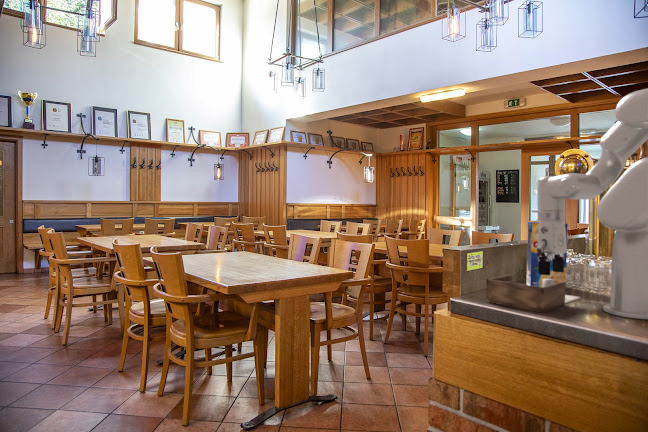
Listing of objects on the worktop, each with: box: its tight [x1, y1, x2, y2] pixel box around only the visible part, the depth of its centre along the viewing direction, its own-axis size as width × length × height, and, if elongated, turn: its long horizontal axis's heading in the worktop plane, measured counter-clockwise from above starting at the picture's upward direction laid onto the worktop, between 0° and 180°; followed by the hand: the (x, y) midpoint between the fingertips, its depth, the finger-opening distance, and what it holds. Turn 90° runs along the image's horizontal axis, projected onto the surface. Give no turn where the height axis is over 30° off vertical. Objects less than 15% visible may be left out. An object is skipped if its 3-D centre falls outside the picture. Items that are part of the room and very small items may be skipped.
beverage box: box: [525, 221, 568, 287], centre depth 156 cm, size 7×11×22 cm, turn 77°
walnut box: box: [485, 274, 567, 313], centre depth 129 cm, size 16×14×6 cm
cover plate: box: [542, 279, 581, 305], centre depth 139 cm, size 14×12×6 cm
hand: (551, 273), depth 138 cm, fingers open, 9 cm apart
